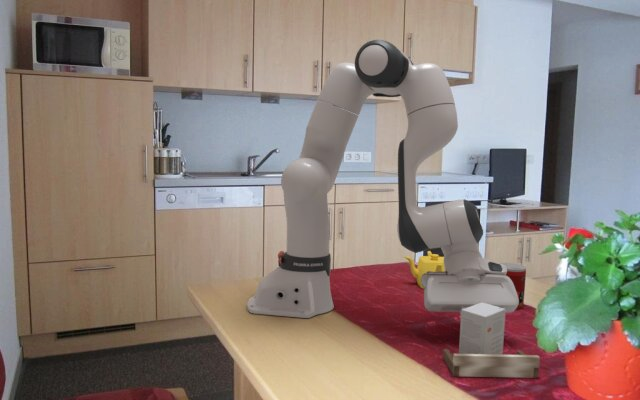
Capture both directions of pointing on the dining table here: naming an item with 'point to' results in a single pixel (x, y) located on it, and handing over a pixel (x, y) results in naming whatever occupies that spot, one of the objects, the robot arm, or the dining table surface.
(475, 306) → the small box
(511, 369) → the bay
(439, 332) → the dining table surface
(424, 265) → the teapot
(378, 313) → the dining table surface
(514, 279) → the canned food
